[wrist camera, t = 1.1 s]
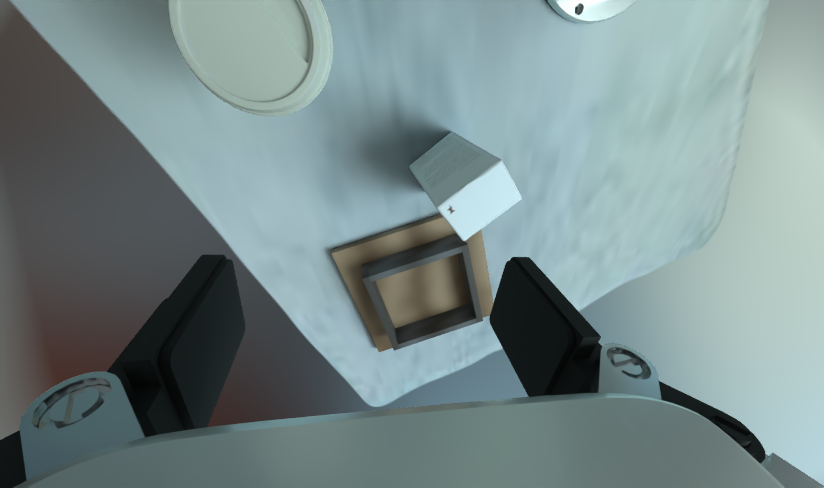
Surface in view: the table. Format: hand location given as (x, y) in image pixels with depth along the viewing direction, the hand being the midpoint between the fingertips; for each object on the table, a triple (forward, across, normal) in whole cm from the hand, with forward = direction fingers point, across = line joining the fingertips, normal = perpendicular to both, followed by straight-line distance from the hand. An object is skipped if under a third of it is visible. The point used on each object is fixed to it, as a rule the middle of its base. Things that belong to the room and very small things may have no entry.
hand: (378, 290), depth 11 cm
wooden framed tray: (+24, -9, +18) cm, 31 cm away
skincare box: (+25, -9, +2) cm, 26 cm away
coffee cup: (+25, +7, -7) cm, 27 cm away
